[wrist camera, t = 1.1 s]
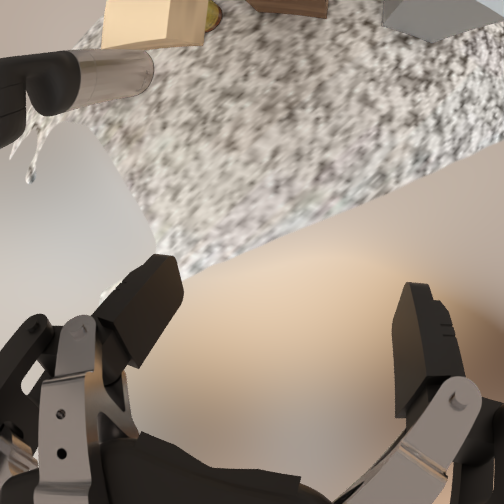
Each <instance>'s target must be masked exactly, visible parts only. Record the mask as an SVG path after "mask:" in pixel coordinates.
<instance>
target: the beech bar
mask: <svg viewBox="0 0 504 504" xmlns="http://www.w3.org/2000/svg"><path fill="white" fill-rule="evenodd" d="M207 8H208V0H107V1H106V8H105V15H104V23H103V33H102V45H101V49H130V50H150V49H159V48H170V47H184V46H203V43H204V33H205V24H206V16H207Z"/></svg>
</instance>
